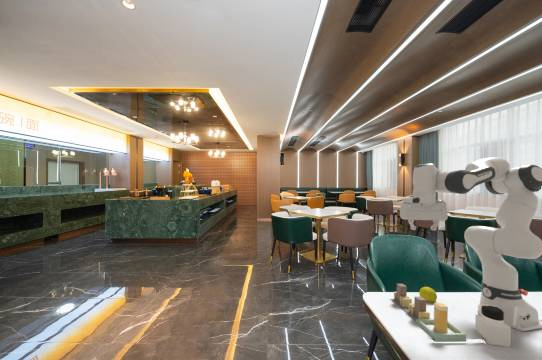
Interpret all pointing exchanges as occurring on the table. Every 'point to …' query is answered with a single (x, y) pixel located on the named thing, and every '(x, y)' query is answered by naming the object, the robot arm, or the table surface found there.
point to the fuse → (440, 317)
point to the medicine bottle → (493, 326)
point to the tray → (443, 337)
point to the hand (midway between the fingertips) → (423, 230)
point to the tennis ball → (428, 294)
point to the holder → (410, 304)
